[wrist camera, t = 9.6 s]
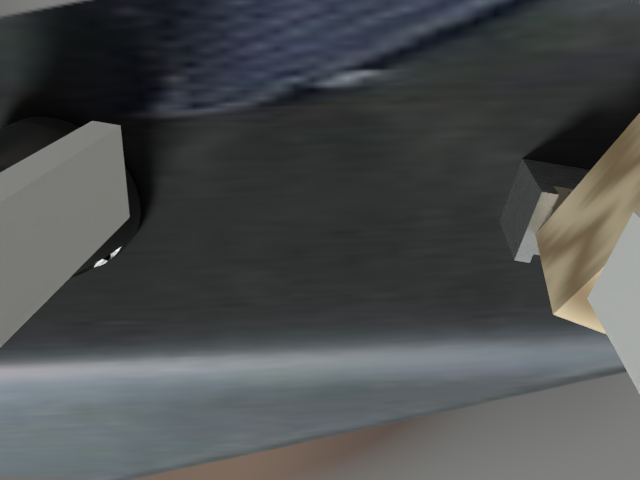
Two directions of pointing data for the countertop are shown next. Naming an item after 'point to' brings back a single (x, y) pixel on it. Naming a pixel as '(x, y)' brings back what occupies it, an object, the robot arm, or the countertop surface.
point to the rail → (590, 228)
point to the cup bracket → (633, 1)
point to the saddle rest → (535, 202)
